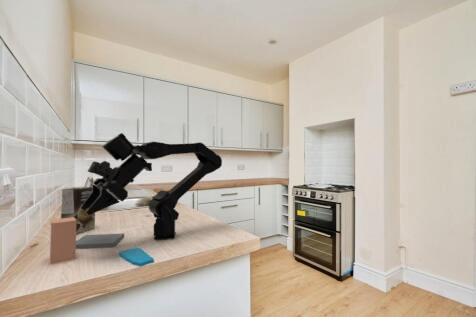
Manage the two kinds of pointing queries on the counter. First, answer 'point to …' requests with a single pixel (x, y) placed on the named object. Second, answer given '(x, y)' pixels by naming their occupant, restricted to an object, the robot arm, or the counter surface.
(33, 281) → the counter surface
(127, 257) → the sponge
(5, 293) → the counter surface
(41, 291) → the counter surface
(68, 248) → the terracotta block
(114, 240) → the slate board
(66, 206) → the coffee box
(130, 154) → the robot arm
